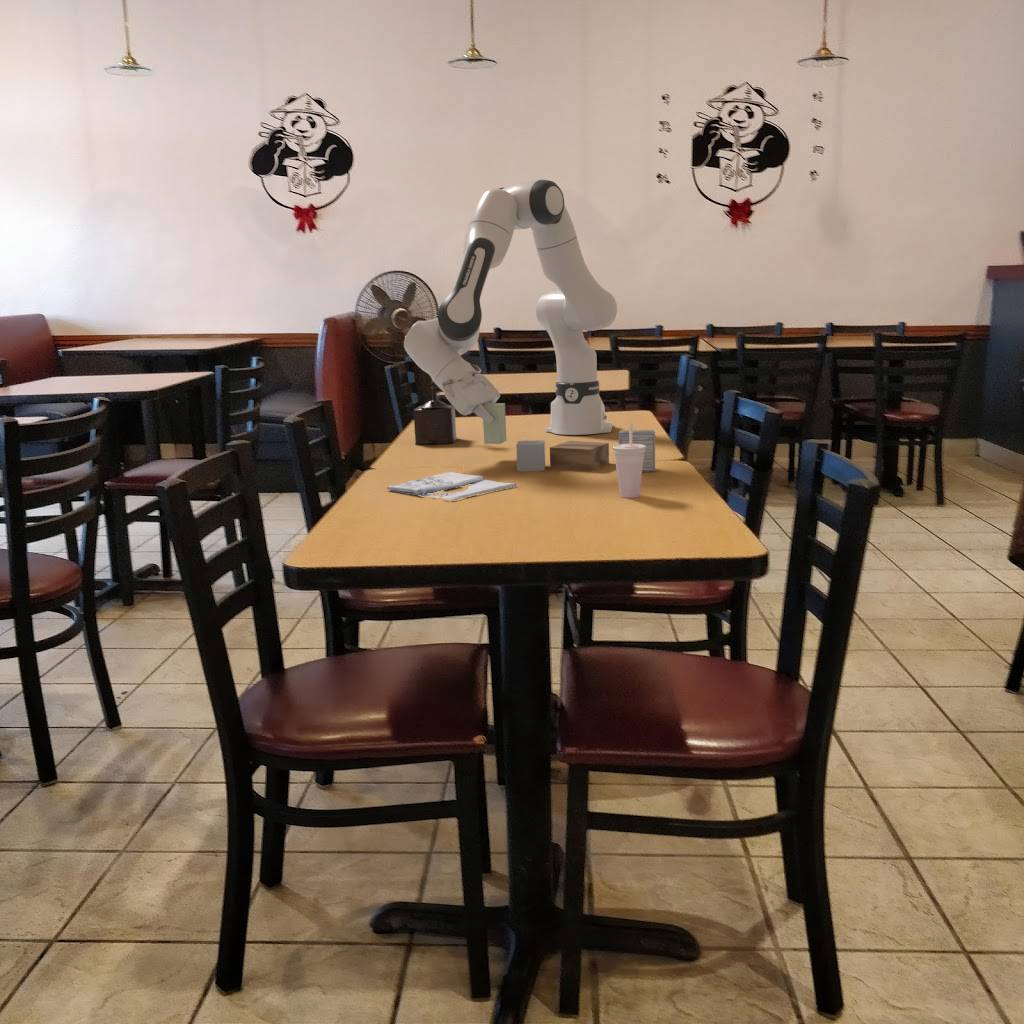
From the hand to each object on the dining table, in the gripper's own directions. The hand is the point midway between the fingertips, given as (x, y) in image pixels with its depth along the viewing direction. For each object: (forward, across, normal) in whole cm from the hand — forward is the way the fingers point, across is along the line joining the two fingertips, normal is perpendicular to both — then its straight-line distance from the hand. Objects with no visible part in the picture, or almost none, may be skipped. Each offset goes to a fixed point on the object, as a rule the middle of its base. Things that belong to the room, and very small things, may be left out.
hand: (496, 419), depth 226 cm
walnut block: (+22, -4, -8) cm, 24 cm away
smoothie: (+35, -34, -21) cm, 53 cm away
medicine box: (+32, -8, -18) cm, 38 cm away
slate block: (+15, -9, -1) cm, 18 cm away
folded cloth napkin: (+9, -34, +6) cm, 35 cm away
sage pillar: (+3, 0, +4) cm, 5 cm away
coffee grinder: (-10, +26, +25) cm, 37 cm away
